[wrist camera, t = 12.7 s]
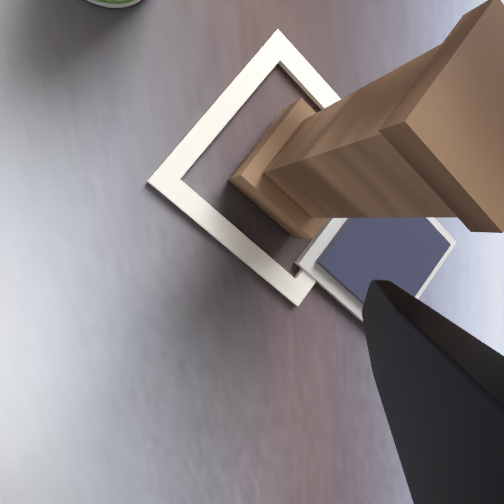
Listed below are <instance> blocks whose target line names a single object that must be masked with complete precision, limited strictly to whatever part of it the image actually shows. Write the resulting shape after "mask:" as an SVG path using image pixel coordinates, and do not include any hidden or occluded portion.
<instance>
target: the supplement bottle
mask: <svg viewBox="0 0 504 504" xmlns="http://www.w3.org/2000/svg"><path fill="white" fill-rule="evenodd" d="M87 1H89V2H91V3H94V4H96V5H99V6H104V7H110V8H122V7H127V6H131V5H133V4H136V3H138V2H139V1H141V0H87Z"/></svg>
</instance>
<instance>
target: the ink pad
mask: <svg viewBox="0 0 504 504" xmlns="http://www.w3.org/2000/svg"><path fill="white" fill-rule="evenodd" d="M456 243H457V242H456V241H455V240H454V239H453V237H452V236H451V235H450V234H449V233H448V232H447V231H446V230H445V229H444V228H443V226H442V225H441V224H440V223H439V222H438V221H437V220H436V219H435V218H434V217H415V218H328V219H327V221H326V222H325V224H324V225H323V226H322V228H321V229H320V230H319V232H318V233H317V234H316V236H315V237H314V239H312V240H311V241H310V243H309V244H308V245H307V247H306V248H305V249H304V250H303V252H302V253H301V254H300V256H299V257H298V258H297V260H296V261H295V262H294V263H295V264H296V265H297V266H298V267H300V268H301V269H304V270H305V271H306V272H307V273H308V274H309V275H311V276H312V277H313V278H314V279H315V280H316V282H317V283H318V284H319V285H320V286H321V287H322V288H323V289H325V290H326V291H327V292H328V293H329V294H330V295H331V296H333V297H334V298H335V299H336V300H337V301H338V302H339V303H340V304H342V305H343V306H344V307H345V308H346V309H347V310H348V311H350V312H351V313H352V314H353V315H354V316H355V317H356V318H358V319H359V320H360V321H361V322H362V323H363V319H362V308H363V304H364V301H365V297H366V294H367V290H368V287H369V284H370V282H371V281H372V280H389V281H391V282H393V283H394V284H396V285H397V286H399V287H400V288H402V289H403V290H405V291H406V292H408V293H409V294H411V295H412V296H414V297H415V298H417V299H418V298H419V297H420V295H421V294H422V292H423V291H424V289H425V288H426V286H427V285H428V284H429V282H430V281H431V279H432V278H433V276H434V275H435V273H436V272H437V270H438V269H439V268H440V266H441V265H442V263H443V262H444V260H445V259H446V257H447V256H448V254H449V253H450V252H451V250H452V249H453V247H454V246H455V244H456Z"/></svg>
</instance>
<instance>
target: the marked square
mask: <svg viewBox="0 0 504 504" xmlns="http://www.w3.org/2000/svg"><path fill="white" fill-rule="evenodd" d="M277 63H278V64H279V65H280V66H281V67H282V68H283V69H284V70H285V71H286V72H287V74H288V75H289V76H290V77H291V78H292V79H293V80H294V81H295V82H296V83H297V84H298V85H299V86H300V88H301V89H302V90H303V91H304V92H305V93H306V94H307V95H308V96H309V97H310V98H311V99H312V101H313V102H314V103H315V104H316V105H317V106H318V107H319V108H320V109H321V110H323V109H324V108H326V107H328V106H330V105H332V104H334V103H335V102H337V101H339V100H341V99H340V97H339V96H338V95H337V94H336V93H335V92H334V91H333V90H332V89H331V87H330V86H329V85H328V84H327V83H326V82H325V81H324V80H323V79H322V77H321V76H320V75H319V74H318V73H317V72H316V71H315V70H314V68H313V67H312V66H311V65H310V64H309V63H308V62H307V61H306V60H305V58H304V57H303V56H302V55H301V54H300V53H299V52H298V51H297V49H296V48H295V47H294V46H293V45H292V44H291V43H290V42H289V41H288V39H287V38H286V37H285V36H284V35H283V34H282V33H281V32H280V31H279V29H277V30H276V31H275V33H274V34H273V35H272V36H271V37H270V38H269V40H268V41H267V42H266V43H265V44H264V46H263V47H262V48H261V49H260V50H259V51H258V53H257V54H256V55H255V56H254V57H253V58H252V60H251V61H250V62H249V63H248V64H247V65H246V67H245V68H244V69H243V70H242V71H241V72H240V74H239V75H238V76H237V77H236V78H235V79H234V81H233V82H232V83H231V84H230V85H229V86H228V88H227V89H226V90H225V91H224V92H223V93H222V95H221V96H220V97H219V98H218V99H217V100H216V102H215V103H214V104H213V105H212V106H211V107H210V109H209V110H208V111H207V112H206V113H205V114H204V116H203V117H202V118H201V119H200V120H199V121H198V123H197V124H196V125H195V126H194V127H193V129H192V130H191V131H190V132H189V133H188V134H187V136H186V137H185V138H184V139H183V140H182V141H181V143H180V144H179V145H178V146H177V147H176V148H175V150H174V151H173V152H172V153H171V154H170V155H169V157H168V158H167V159H166V160H165V161H164V162H163V164H162V165H161V166H160V167H159V168H158V169H157V171H156V172H155V173H154V174H153V175H152V176H151V178H150V179H149V180H148V181H147V182H148V183H149V184H151V185H152V186H153V187H154V188H155V189H157V190H158V191H159V192H160V193H161V194H163V195H164V196H165V197H166V198H167V199H169V200H170V201H171V202H172V203H173V204H175V205H176V206H177V207H178V208H179V209H181V210H182V211H183V212H184V213H185V214H187V215H188V216H189V217H190V218H191V219H193V220H194V221H195V222H196V223H197V224H199V225H200V226H201V227H202V228H203V229H205V230H206V231H207V232H208V233H209V234H211V235H212V236H213V237H214V238H215V239H217V240H218V241H219V242H220V243H221V244H223V245H224V246H225V247H226V248H227V249H229V250H230V251H231V252H232V253H233V254H235V255H236V256H237V257H238V258H239V259H240V260H242V261H243V262H244V263H245V264H246V265H248V266H249V267H250V268H251V269H252V270H254V271H255V272H256V273H257V274H258V275H260V276H261V277H262V278H263V279H264V280H266V281H267V282H268V283H269V284H270V285H272V286H273V287H274V288H275V289H276V290H278V291H279V292H280V293H281V294H282V295H284V296H285V297H286V298H287V299H288V300H290V301H291V302H292V303H293V304H294V305H296V306H299V304H300V303H301V302H302V300H303V299H304V298H305V296H306V295H307V294H308V292H309V291H310V290H311V288H312V287H313V285H314V284H315V283H316V280H315V279H314V278H313V277H312V276H311V275H309V274H308V273H307V272H306V271H305V270H304V269H300V270H299V271H298V273H297V274H296V275H295V277H293V276H292V275H291V274H289V273H288V272H287V271H286V270H285V269H284V268H282V267H281V266H280V265H279V264H278V263H277V262H275V261H274V260H273V259H272V258H271V257H270V256H268V255H267V254H266V253H265V252H264V251H263V250H262V249H260V248H259V247H258V246H257V245H256V244H255V243H253V242H252V241H251V240H250V239H249V238H248V237H246V236H245V235H244V234H243V233H242V232H241V231H240V230H238V229H237V228H236V227H235V226H234V225H233V224H231V223H230V222H229V221H228V220H227V219H226V218H224V217H223V216H222V215H221V214H220V213H219V212H217V211H216V210H215V209H214V208H213V207H212V206H211V205H209V204H208V203H207V202H206V201H205V200H204V199H202V198H201V197H200V196H199V195H198V194H197V193H195V192H194V191H193V190H192V189H191V188H190V187H189V186H187V185H186V184H185V183H184V182H183V181H182V180H180V179H181V177H182V176H183V175H184V174H185V173H186V171H187V170H188V169H189V168H190V167H191V165H192V164H193V163H194V162H195V161H196V160H197V158H198V157H199V156H200V155H201V154H202V152H203V151H204V150H205V149H206V148H207V146H208V145H209V144H210V143H211V142H212V141H213V139H214V138H215V137H216V136H217V135H218V133H219V132H220V131H221V130H222V129H223V127H224V126H225V125H226V124H227V123H228V121H229V120H230V119H231V118H232V117H233V116H234V114H235V113H236V112H237V111H238V110H239V108H240V107H241V106H242V105H243V104H244V102H245V101H246V100H247V99H248V98H249V96H250V95H251V94H252V93H253V92H254V91H255V89H256V88H257V87H258V86H259V85H260V83H261V82H262V81H263V80H264V79H265V77H266V76H267V75H268V74H269V73H270V72H271V70H272V69H273V68H274V67H275V66H276V64H277Z"/></svg>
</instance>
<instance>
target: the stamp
mask: <svg viewBox="0 0 504 504" xmlns="http://www.w3.org/2000/svg"><path fill="white" fill-rule="evenodd" d="M228 181H229V182H230V183H231V184H233V185H234V186H235V187H236V188H237V189H238V190H239V191H241V192H242V193H243V194H244V195H245V196H246V197H247V198H249V199H250V200H251V201H252V202H253V203H254V204H255V205H257V206H258V207H259V208H260V209H261V210H262V211H263V212H265V213H266V214H267V215H268V216H269V217H270V218H271V219H273V220H274V221H275V222H276V223H277V224H278V225H279V226H281V227H282V228H283V229H284V230H285V231H286V232H287V233H289V234H290V235H292V236H293V237H295V238H305V239H314V237H315V236H316V234H317V233H318V232H319V230H320V229H321V228H322V226H323V225H324V224H325V222H326V221H327V219H328V218H415V217H458V218H459V219H460V220H461V221H462V223H463V224H464V225H465V226H466V227H467V228H468V229H469V230H470V231H471V232H495V233H503V232H504V5H503V3H502V2H501V0H488V1H486V2H485V3H483V4H481V5H480V6H478V7H476V8H475V9H473V10H471V11H470V12H468V13H466V14H465V15H463V16H462V18H461V19H460V20H459V22H458V23H457V25H456V26H455V27H454V29H453V30H452V31H451V33H450V34H449V35H448V37H447V38H446V39H445V41H444V42H443V43H442V44H441V45H439V46H437V47H435V48H433V49H431V50H430V51H428V52H426V53H424V54H422V55H421V56H419V57H417V58H415V59H413V60H412V61H410V62H408V63H406V64H404V65H402V66H401V67H399V68H397V69H395V70H393V71H392V72H390V73H388V74H386V75H384V76H383V77H381V78H379V79H377V80H375V81H373V82H372V83H370V84H368V85H366V86H364V87H363V88H361V89H359V90H357V91H355V92H353V93H352V94H350V95H348V96H346V97H344V98H343V99H341V100H339V101H337V102H335V103H334V104H332V105H330V106H328V107H326V108H324V109H323V110H321V111H319V112H317V113H316V112H315V111H314V110H313V109H312V108H311V107H310V106H309V105H308V104H307V103H306V102H305V101H304V100H303V99H302V98H300V99H299V100H297V101H296V102H294V103H293V104H291V105H290V106H288V107H287V108H285V109H284V110H283V111H282V112H281V113H280V115H279V116H278V117H277V118H276V120H275V121H274V122H273V124H272V125H271V126H270V127H269V129H268V130H267V131H266V132H265V134H264V135H263V136H262V137H261V139H260V140H259V141H258V143H257V144H256V145H255V146H254V148H253V149H252V150H251V151H250V153H249V154H248V155H247V156H246V158H245V159H244V160H243V162H242V163H241V164H240V165H239V167H238V168H237V169H236V170H235V172H234V173H233V174H232V175H231V177H230V178H229V179H228Z"/></svg>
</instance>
